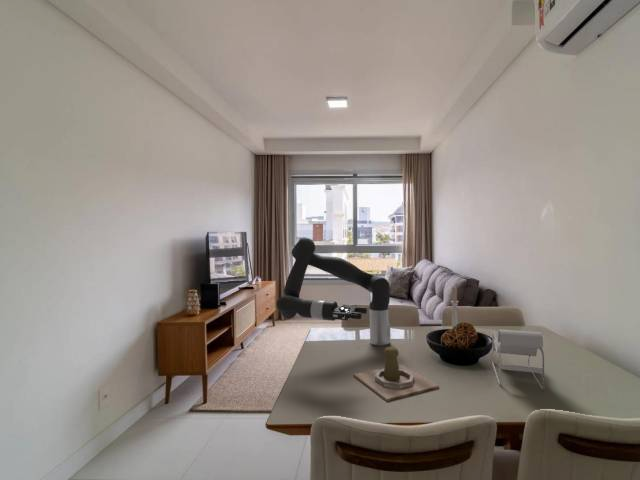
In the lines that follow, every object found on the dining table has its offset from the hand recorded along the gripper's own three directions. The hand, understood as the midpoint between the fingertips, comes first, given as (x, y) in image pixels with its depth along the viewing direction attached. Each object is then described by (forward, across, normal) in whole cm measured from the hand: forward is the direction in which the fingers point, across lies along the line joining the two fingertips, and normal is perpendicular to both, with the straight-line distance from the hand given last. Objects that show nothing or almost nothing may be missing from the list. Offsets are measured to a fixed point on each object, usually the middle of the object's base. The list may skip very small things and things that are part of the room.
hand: (364, 313), depth 128 cm
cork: (+10, +1, +24) cm, 26 cm away
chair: (+54, +19, +24) cm, 62 cm away
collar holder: (+11, -1, +24) cm, 27 cm away
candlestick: (+33, +42, +25) cm, 59 cm away
